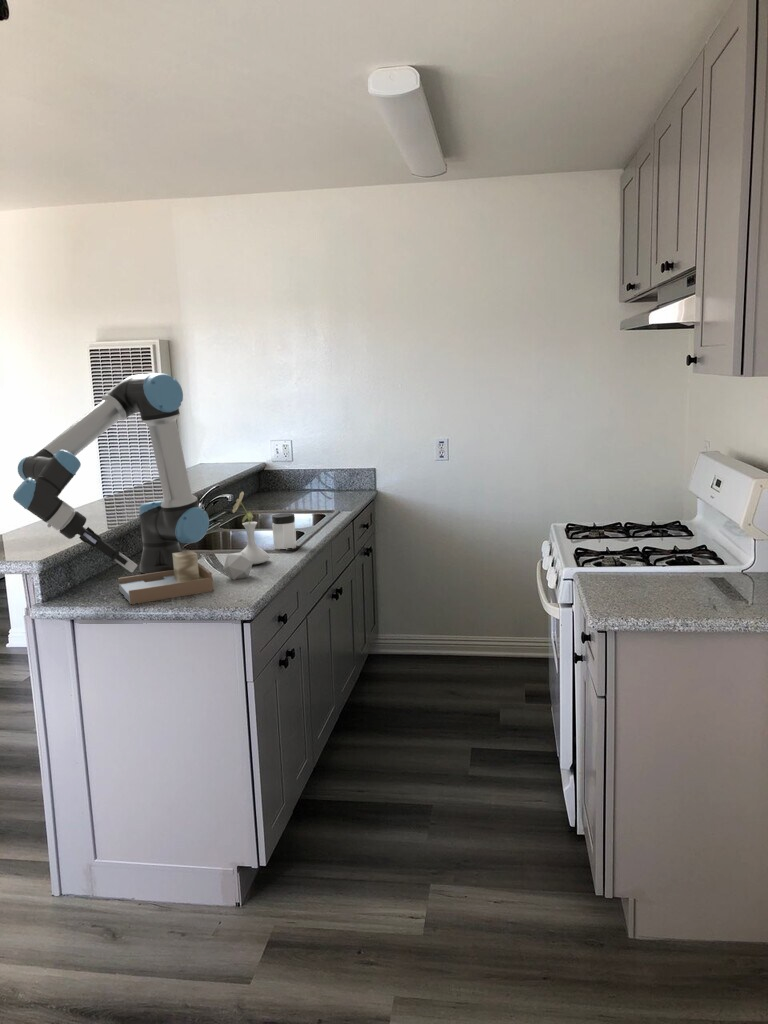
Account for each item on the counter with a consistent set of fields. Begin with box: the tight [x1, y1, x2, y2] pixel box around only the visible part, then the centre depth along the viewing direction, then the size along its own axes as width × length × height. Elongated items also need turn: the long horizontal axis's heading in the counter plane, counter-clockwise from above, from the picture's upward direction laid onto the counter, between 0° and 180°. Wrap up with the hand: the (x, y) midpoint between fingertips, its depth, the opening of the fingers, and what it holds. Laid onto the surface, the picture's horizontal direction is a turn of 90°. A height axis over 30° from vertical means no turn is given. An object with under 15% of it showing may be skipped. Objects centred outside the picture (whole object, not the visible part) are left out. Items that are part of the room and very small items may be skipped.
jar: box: [271, 512, 297, 550], centre depth 299 cm, size 9×8×12 cm
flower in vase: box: [231, 491, 270, 566], centre depth 274 cm, size 13×11×25 cm
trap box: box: [118, 562, 214, 605], centre depth 245 cm, size 24×18×6 cm
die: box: [222, 551, 253, 581], centre depth 257 cm, size 8×9×10 cm
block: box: [172, 550, 199, 582], centre depth 248 cm, size 6×6×8 cm
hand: (134, 568), depth 241 cm, fingers closed
